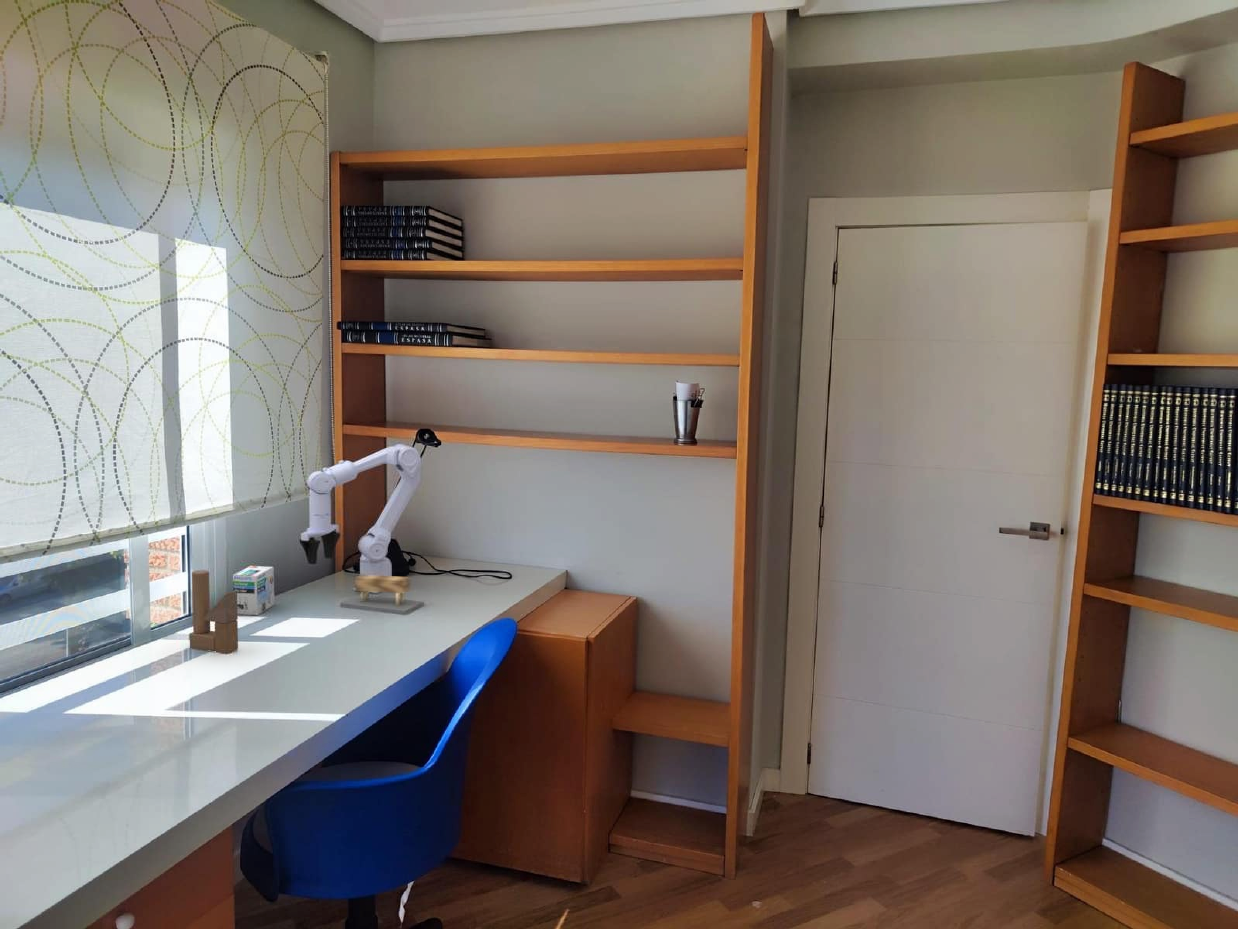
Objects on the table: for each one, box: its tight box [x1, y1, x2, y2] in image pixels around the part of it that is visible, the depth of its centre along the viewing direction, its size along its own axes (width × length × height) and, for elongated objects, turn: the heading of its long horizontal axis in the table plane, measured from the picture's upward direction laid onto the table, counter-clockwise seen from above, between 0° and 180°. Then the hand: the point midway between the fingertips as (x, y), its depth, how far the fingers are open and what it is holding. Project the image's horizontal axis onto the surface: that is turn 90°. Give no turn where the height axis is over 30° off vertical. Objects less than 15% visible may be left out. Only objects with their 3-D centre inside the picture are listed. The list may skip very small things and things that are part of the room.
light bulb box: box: [232, 565, 275, 616], centre depth 227 cm, size 11×7×11 cm, turn 179°
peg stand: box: [339, 591, 425, 616], centre depth 234 cm, size 10×20×4 cm, turn 73°
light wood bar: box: [354, 574, 411, 594], centre depth 234 cm, size 14×4×4 cm, turn 84°
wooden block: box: [189, 569, 239, 655], centre depth 195 cm, size 4×11×18 cm, turn 73°
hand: (320, 560), depth 242 cm, fingers open, 7 cm apart
